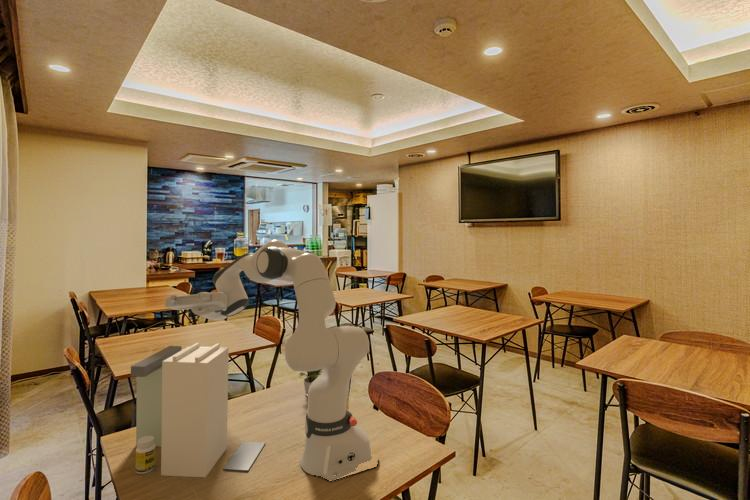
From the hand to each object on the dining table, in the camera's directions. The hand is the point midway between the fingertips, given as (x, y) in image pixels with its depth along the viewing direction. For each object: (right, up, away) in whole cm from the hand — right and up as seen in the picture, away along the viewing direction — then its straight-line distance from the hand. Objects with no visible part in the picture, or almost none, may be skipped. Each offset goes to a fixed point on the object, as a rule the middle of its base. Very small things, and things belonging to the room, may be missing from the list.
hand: (185, 296), depth 129 cm
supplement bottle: (+1, -45, -25) cm, 51 cm away
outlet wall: (+13, -45, -20) cm, 51 cm away
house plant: (+38, -44, +26) cm, 63 cm away
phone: (+26, -46, -17) cm, 55 cm away
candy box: (+50, -45, +11) cm, 68 cm away
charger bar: (-4, -20, -10) cm, 23 cm away
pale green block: (-4, -44, -9) cm, 45 cm away
